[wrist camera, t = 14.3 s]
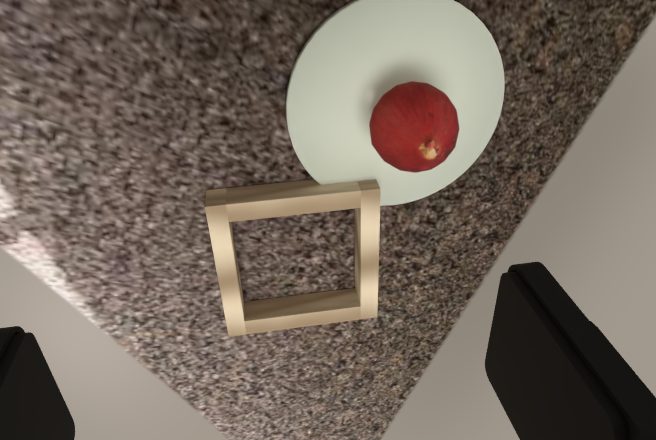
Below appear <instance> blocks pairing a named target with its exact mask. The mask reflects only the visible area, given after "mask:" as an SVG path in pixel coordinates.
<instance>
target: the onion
mask: <svg viewBox="0 0 656 440" xmlns="http://www.w3.org/2000/svg"><path fill="white" fill-rule="evenodd" d="M369 127H370V135H371V143H372V146H373V147H374V148H375V150H376V151H377V153H378V154H379V155H380V157H381V158H382V159H383V160H384V162H386V163H388V164H390V165H391V166H393V167H395V168H396V169H398V170H400V171H407V172H413V173H417V172H422V171H427V170H432V169H433V168H435V167H436V166H438V165H440V164H441V163H443V162H444V161H445V160H446V159H447V158H448V156H449V155H450V154H451V152H452V151H453V150H454V148H455V147H456V142H457V138H458V133H459V122H458V115H457V110H456V108H455V107H454V105H453V104H452V102H451V101H450V99H449V98H448V96H447V95H446V94H445V93H444V92H442V91H441V90H439V89H437V88H436V87H434V86H432V85H430V84H428V83H423V82H415V81H411V82H407V83H403V84H399V85H396V86H395V87H393V88H392V89H391V90H389V91H388V92H386V93H385V94H384V95H383V96H382V97H381V98H380V100H379V101H378V103H377V104H376V106H375V107H374V109H373V112H372V115H371V119H370V122H369Z"/></svg>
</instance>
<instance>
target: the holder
mask: <svg viewBox="0 0 656 440" xmlns="http://www.w3.org/2000/svg"><path fill="white" fill-rule="evenodd" d="M380 190H381V189H380V187H379V184H378V182H377V180H376V179H374V180H364V181H355V182H345V183H335V184H325V185H321V184H319V183H318V182H317V181H316V180H315V179H313V180H303V181H293V182H283V183H273V184H263V185H253V186H243V187H233V188H223V189H213V190H206V200H205V210H206V216H207V221H208V226H209V232H210V237H211V243H212V248H213V253H214V259H215V264H216V270H217V275H218V280H219V286H220V291H221V297H222V302H223V307H224V313H225V318H226V324H227V329H228V335H229V336H237V335H244V334H252V333H260V332H267V331H275V330H282V329H290V328H298V327H305V326H313V325H320V324H328V323H336V322H343V321H351V320H358V319H366V318H374V317H377V307H378V268H379V229H380ZM354 208H355V288H351V289H343V290H335V291H327V292H319V293H311V294H303V295H295V296H287V297H279V298H271V299H263V300H255V301H247V302H244V299H243V293H242V286H241V280H240V274H239V267H238V261H237V254H236V248H235V242H234V235H233V229H232V222H234V221H243V220H252V219H262V218H271V217H280V216H289V215H299V214H308V213H317V212H327V211H336V210H345V209H354Z"/></svg>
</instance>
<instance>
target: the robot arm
mask: <svg viewBox="0 0 656 440" xmlns="http://www.w3.org/2000/svg"><path fill="white" fill-rule="evenodd" d="M485 369H486V373H487V376H488V379H489V381H490V383H491V384H492V387H493V388H494V390H495V392H496V394H497V396H498V398H499V400H500V402H501V404H502V406H503V408H504V410H505V412H506V414H507V416H508V417H509V419H510V421H511V423H512V425H513V427H514V429H515V431H516V433H517V435H518V437H519V438H520V440H656V398H655V396H654V395H653V394H652V393H651V391H650V390H649V389H648V388H647V387H646V385H645V384H644V383H643V382H642V381H641V380H640V378H639V377H638V376H637V375H636V374H635V372H634V371H633V370H632V368H631V367H630V366H629V365H628V364H627V362H626V361H625V360H624V359H623V358H622V356H621V355H620V354H619V353H618V352H617V350H616V349H615V348H614V347H613V345H612V344H611V343H610V342H609V341H608V339H607V338H606V337H605V336H604V335H603V333H602V332H601V331H600V330H599V329H598V327H596V326H595V325H594V324H593V323H592V322H591V321H589V320H588V319H587V317H586V316H585V315H584V314H583V313H582V311H581V310H580V309H579V308H578V306H577V305H576V304H575V303H574V302H573V300H572V299H571V298H570V297H569V296H568V294H567V293H566V292H565V291H564V289H563V288H562V287H561V286H560V285H559V283H558V282H557V281H556V280H555V279H554V277H553V276H552V275H551V274H550V272H549V271H548V270H547V269H546V267H545V266H544V265H543V264H542V263H540V262H532V263H525V264H517V265H511V266H510V267H509V269H508V272H507V273H503V274H502V276H501V279H500V284H499V289H498V295H497V300H496V305H495V311H494V316H493V321H492V327H491V332H490V337H489V343H488V349H487V353H486V359H485ZM74 437H75V425H74V421H73V419H72V416H71V414H70V412H69V410H68V408H67V405H66V403H65V401H64V399H63V397H62V395H61V393H60V390H59V388H58V386H57V384H56V382H55V380H54V377H53V375H52V373H51V371H50V369H49V366H48V364H47V362H46V360H45V358H44V356H43V353H42V351H41V349H40V347H39V345H38V343H37V340H36V339H35V337H34V335H33V334H32V333H25V332H24V330H23V329H22V328H21V327H19V326H15V327H7V328H0V440H74Z"/></svg>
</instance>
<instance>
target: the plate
mask: <svg viewBox="0 0 656 440" xmlns="http://www.w3.org/2000/svg"><path fill="white" fill-rule="evenodd" d="M411 81H415V82H423V83H428V84H430V85H432V86H434V87H436V88H437V89H439V90H441V91H442V92H444V93H445V94H446V95H447V96H448V98H449V99H450V101H451V102H452V104H453V105H454V107H455V108H456V110H457V115H458V122H459V133H458V138H457V142H456V147H455V148H454V150H453V151H452V152H451V154H450V155H449V156H448V158H447V159H446V160H445V161H444V162H443V163H441V164H440V165H438V166H436V167H435V168H433V169H432V170H427V171H422V172H417V173H413V172H407V171H400V170H398V169H396V168H395V167H393V166H391V165H390V164H388V163H386V162H384V160H383V159H382V158H381V157H380V155H379V154H378V153H377V151H376V150H375V148H374V147H373V146H372V143H371V135H370V127H369V122H370V119H371V115H372V112H373V109H374V107H375V106H376V104H377V103H378V101H379V100H380V98H381V97H382V96H383V95H384V94H385V93H386V92H388V91H389V90H391V89H392V88H393V87H395V86H396V85H399V84H403V83H407V82H411ZM503 98H504V71H503V65H502V60H501V57H500V54H499V51H498V48H497V45H496V43H495V41H494V39H493V37H492V35H491V34H490V32H489V31H488V29H487V28H486V27H485V25H484V24H483V23H482V22H481V21H480V20H479V19H478V18H477V17H476V16H475V15H474V14H473V13H472V12H471V11H470V10H468V9H467V8H465V7H464V6H463V5H461V4H460V3H458V2H456V1H454V0H353V1H351V2H350V3H348V4H346V5H345V6H343V7H341V8H340V9H338V10H337V11H336V12H334V13H333V14H332V15H331V16H329V17H328V18H327V19H326V20H325V21H324V22H323V23H322V24H321V25H320V26H319V27H318V28H317V29H316V30H315V31H314V32H313V34H312V35H311V36H310V38H309V39H308V40H307V42H306V43H305V44H304V46H303V48H302V50H301V51H300V53H299V55H298V57H297V59H296V61H295V64H294V66H293V69H292V71H291V75H290V79H289V82H288V86H287V94H286V119H287V125H288V131H289V135H290V138H291V141H292V145H293V147H294V150H295V152H296V154H297V156H298V158H299V160H300V161H301V163H302V164H303V166H304V168H305V169H306V170H307V171H308V173H309V174H310V175H311V176H312V177H313V178H314V179H315V180H316V181H317V182H318V183H319V184H321V185H325V184H335V183H345V182H355V181H364V180H374V179H376V180H377V182H378V184H379V187H380V189H381V190H380V206H383V205H396V204H402V203H408V202H411V201H415V200H418V199H421V198H424V197H426V196H428V195H431V194H433V193H435V192H437V191H439V190H440V189H442V188H444V187H445V186H447V185H448V184H450V183H451V182H453V181H454V180H456V179H457V178H458V177H459V176H460V175H462V174H463V173H464V172H465V171H466V170H467V169H468V168H469V167H470V166H471V165H472V164H473V163H474V162H475V160H476V159H477V158H478V157H479V155H480V154H481V153H482V151H483V150H484V148H485V147H486V145H487V143H488V142H489V140H490V138H491V136H492V134H493V132H494V130H495V128H496V125H497V122H498V119H499V117H500V113H501V109H502V104H503Z"/></svg>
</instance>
